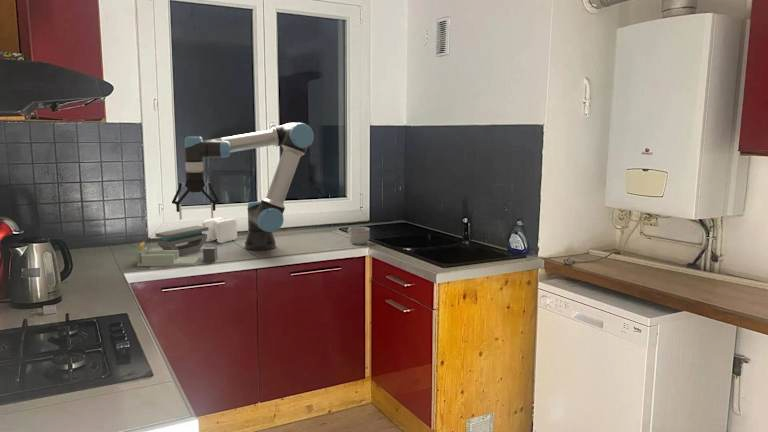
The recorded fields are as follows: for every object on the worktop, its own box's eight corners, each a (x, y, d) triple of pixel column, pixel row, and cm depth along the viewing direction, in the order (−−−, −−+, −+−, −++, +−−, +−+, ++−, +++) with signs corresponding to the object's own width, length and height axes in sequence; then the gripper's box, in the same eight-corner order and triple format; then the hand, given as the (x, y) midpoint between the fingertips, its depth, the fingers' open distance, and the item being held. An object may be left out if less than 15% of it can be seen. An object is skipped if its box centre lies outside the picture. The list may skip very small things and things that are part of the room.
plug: (206, 258, 274) (205, 245, 273) (217, 258, 274) (216, 245, 273) (203, 262, 267) (202, 248, 266) (214, 262, 267) (214, 248, 266)
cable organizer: (217, 244, 304) (217, 222, 302) (202, 242, 308) (201, 220, 306) (237, 239, 317) (237, 218, 315) (222, 237, 321) (221, 216, 320)
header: (199, 259, 272) (199, 239, 271) (194, 265, 260) (194, 245, 259) (144, 259, 269) (143, 240, 268) (137, 266, 257) (136, 245, 256)
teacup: (373, 244, 310) (373, 229, 309) (355, 246, 304) (355, 231, 303) (359, 239, 321) (359, 225, 320) (341, 241, 315) (341, 226, 314)
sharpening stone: (168, 258, 272) (167, 235, 270) (156, 256, 276) (155, 233, 274) (209, 249, 293) (208, 227, 292) (197, 247, 297) (196, 225, 295)
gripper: (223, 170, 273) (225, 216, 277) (165, 171, 267) (167, 218, 270) (223, 171, 266) (225, 218, 270) (164, 172, 259) (166, 220, 263)
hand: (196, 218), depth 270 cm, fingers open, 13 cm apart
